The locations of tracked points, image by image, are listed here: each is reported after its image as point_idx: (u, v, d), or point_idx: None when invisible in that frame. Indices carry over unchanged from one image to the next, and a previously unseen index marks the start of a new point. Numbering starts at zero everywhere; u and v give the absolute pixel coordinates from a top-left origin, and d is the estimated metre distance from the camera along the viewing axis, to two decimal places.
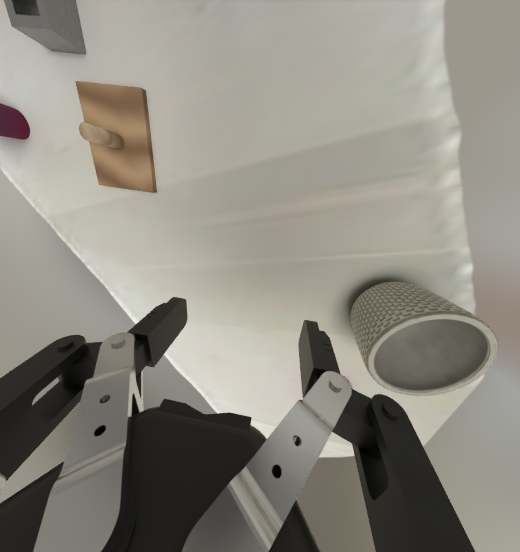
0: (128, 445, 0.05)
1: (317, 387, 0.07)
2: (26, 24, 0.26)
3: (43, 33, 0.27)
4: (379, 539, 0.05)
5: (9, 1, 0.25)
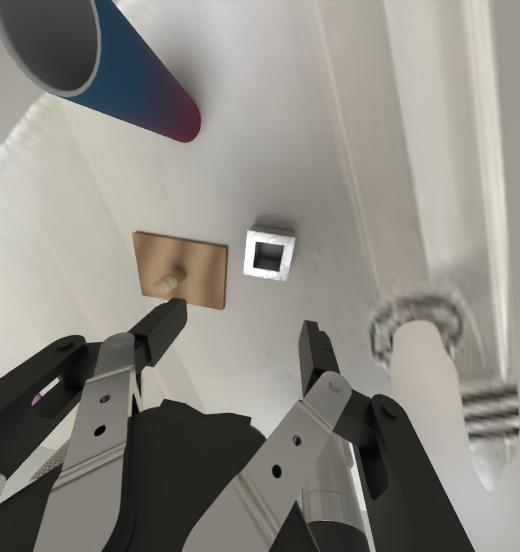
0: (128, 446, 0.05)
1: (317, 387, 0.07)
2: (248, 248, 0.24)
3: None
4: (379, 539, 0.05)
5: (264, 239, 0.24)
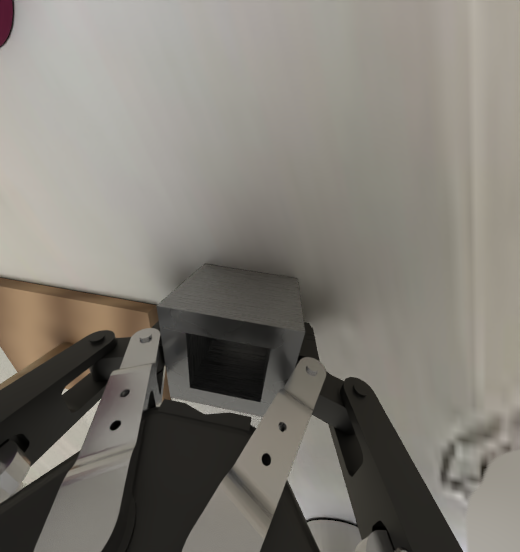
0: (138, 446, 0.05)
1: (294, 370, 0.08)
2: (169, 348, 0.09)
3: None
4: (359, 511, 0.06)
5: (211, 330, 0.08)
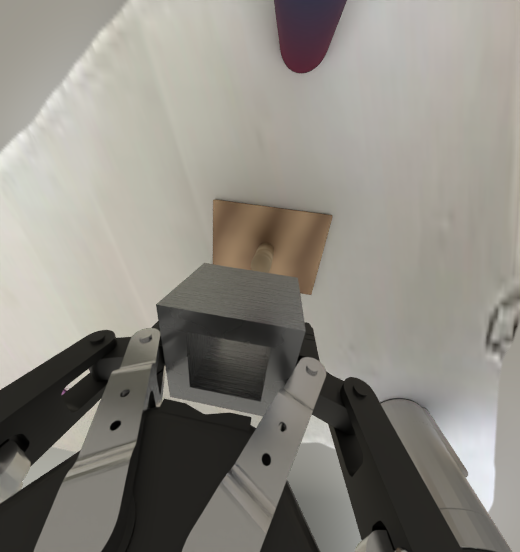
0: (139, 446, 0.05)
1: (294, 370, 0.08)
2: (169, 347, 0.09)
3: None
4: (359, 511, 0.06)
5: (211, 329, 0.08)
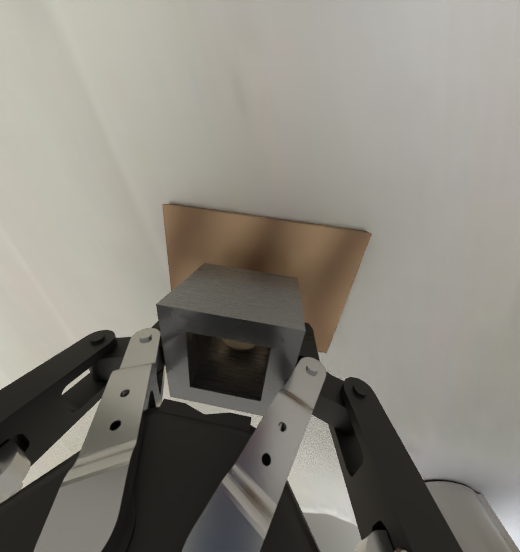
0: (138, 446, 0.05)
1: (294, 370, 0.08)
2: (169, 347, 0.09)
3: None
4: (359, 511, 0.06)
5: (211, 329, 0.08)
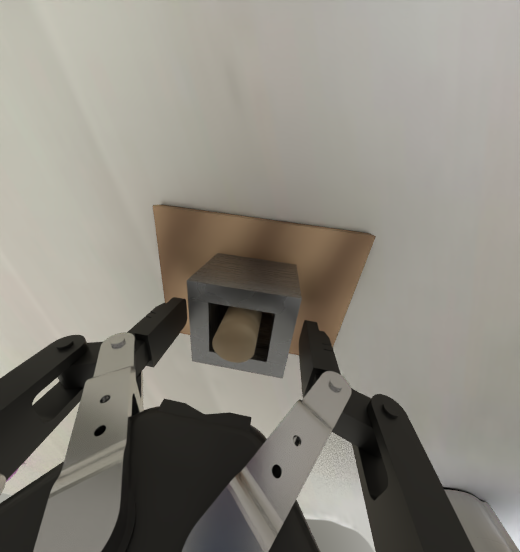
0: (128, 445, 0.05)
1: (317, 387, 0.07)
2: (194, 316, 0.11)
3: None
4: (379, 539, 0.05)
5: (228, 300, 0.10)
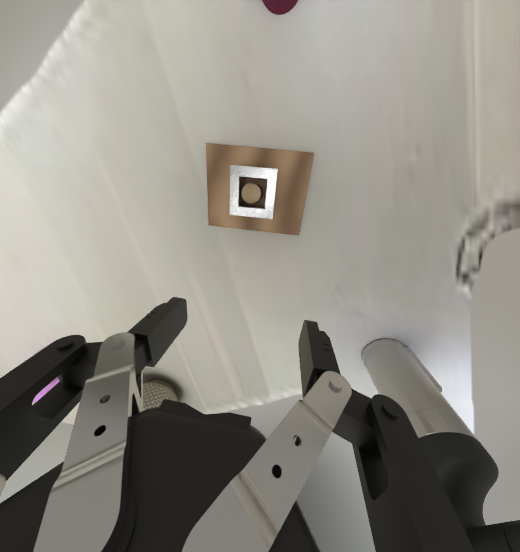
0: (128, 445, 0.05)
1: (317, 387, 0.07)
2: (232, 185, 0.25)
3: None
4: (379, 539, 0.05)
5: (247, 173, 0.24)
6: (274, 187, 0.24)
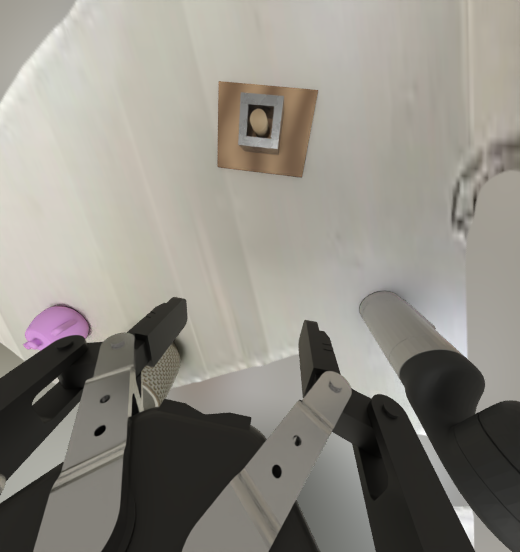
0: (129, 445, 0.05)
1: (317, 387, 0.07)
2: (241, 114, 0.27)
3: None
4: (379, 539, 0.05)
5: (256, 101, 0.26)
6: (280, 115, 0.26)
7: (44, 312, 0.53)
